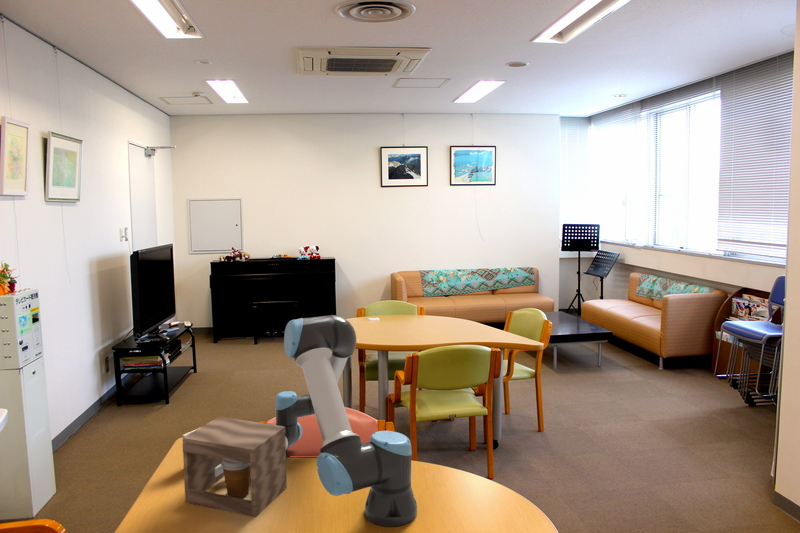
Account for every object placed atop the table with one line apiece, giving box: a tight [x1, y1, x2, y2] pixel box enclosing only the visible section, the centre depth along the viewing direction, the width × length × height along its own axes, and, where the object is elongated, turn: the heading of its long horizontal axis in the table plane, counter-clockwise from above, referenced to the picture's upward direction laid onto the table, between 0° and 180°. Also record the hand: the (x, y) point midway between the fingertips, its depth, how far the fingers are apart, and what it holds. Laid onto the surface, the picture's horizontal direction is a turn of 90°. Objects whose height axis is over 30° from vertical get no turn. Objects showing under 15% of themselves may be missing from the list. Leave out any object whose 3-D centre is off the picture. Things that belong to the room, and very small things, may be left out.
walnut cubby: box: [182, 416, 287, 518], centre depth 167 cm, size 17×24×20 cm
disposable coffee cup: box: [221, 459, 251, 499], centre depth 168 cm, size 10×10×12 cm
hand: (234, 476), depth 167 cm, fingers open, 13 cm apart
